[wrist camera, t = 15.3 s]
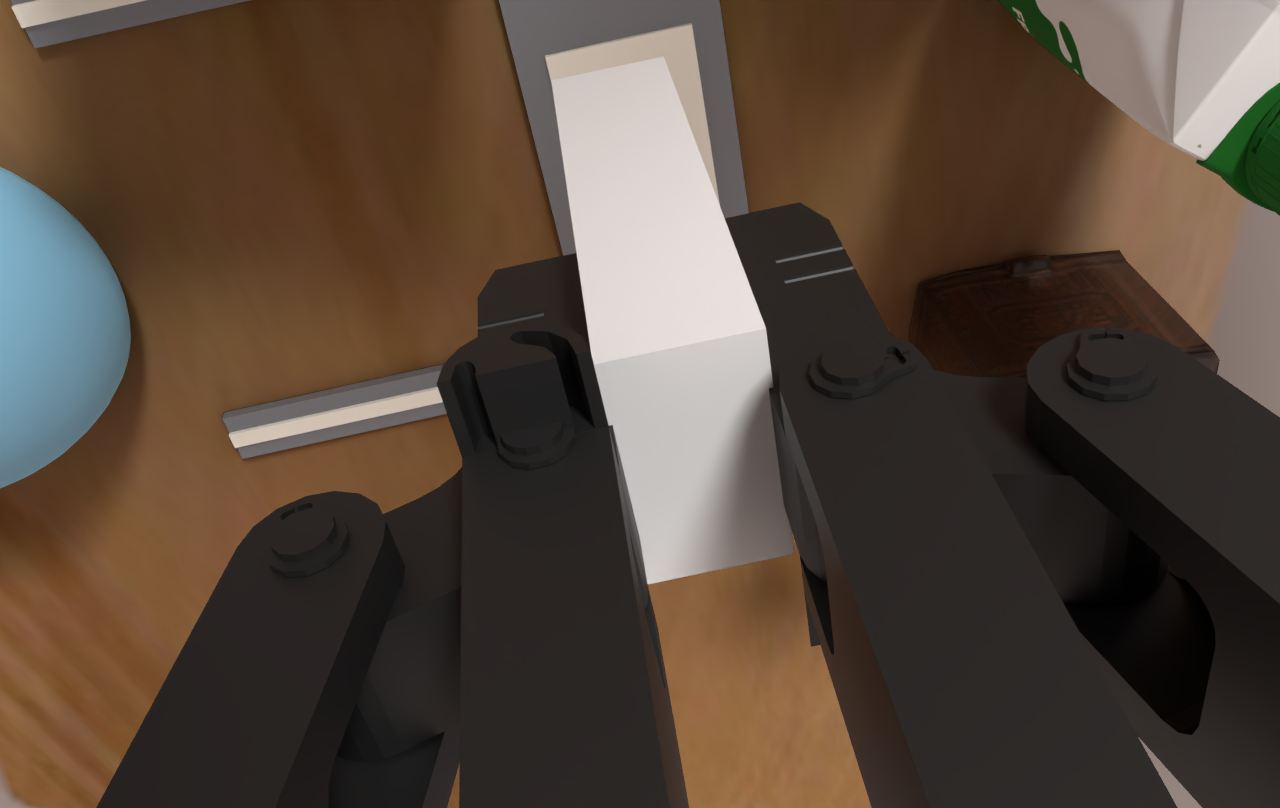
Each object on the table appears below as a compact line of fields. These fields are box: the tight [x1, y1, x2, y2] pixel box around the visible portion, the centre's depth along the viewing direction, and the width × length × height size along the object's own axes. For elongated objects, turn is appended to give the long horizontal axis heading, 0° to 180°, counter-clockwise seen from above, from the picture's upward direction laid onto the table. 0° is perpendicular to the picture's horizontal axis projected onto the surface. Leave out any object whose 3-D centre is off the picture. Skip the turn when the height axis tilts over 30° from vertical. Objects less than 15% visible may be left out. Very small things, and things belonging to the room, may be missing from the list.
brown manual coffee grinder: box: [909, 250, 1220, 377], centre depth 50 cm, size 16×11×18 cm
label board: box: [11, 0, 749, 459], centre depth 49 cm, size 23×26×1 cm
